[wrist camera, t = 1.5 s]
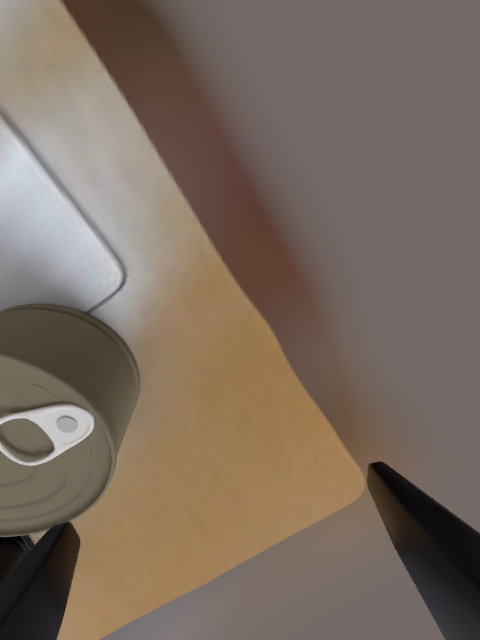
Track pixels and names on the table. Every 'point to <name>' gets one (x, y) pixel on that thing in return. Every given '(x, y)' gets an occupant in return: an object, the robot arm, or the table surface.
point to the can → (59, 414)
